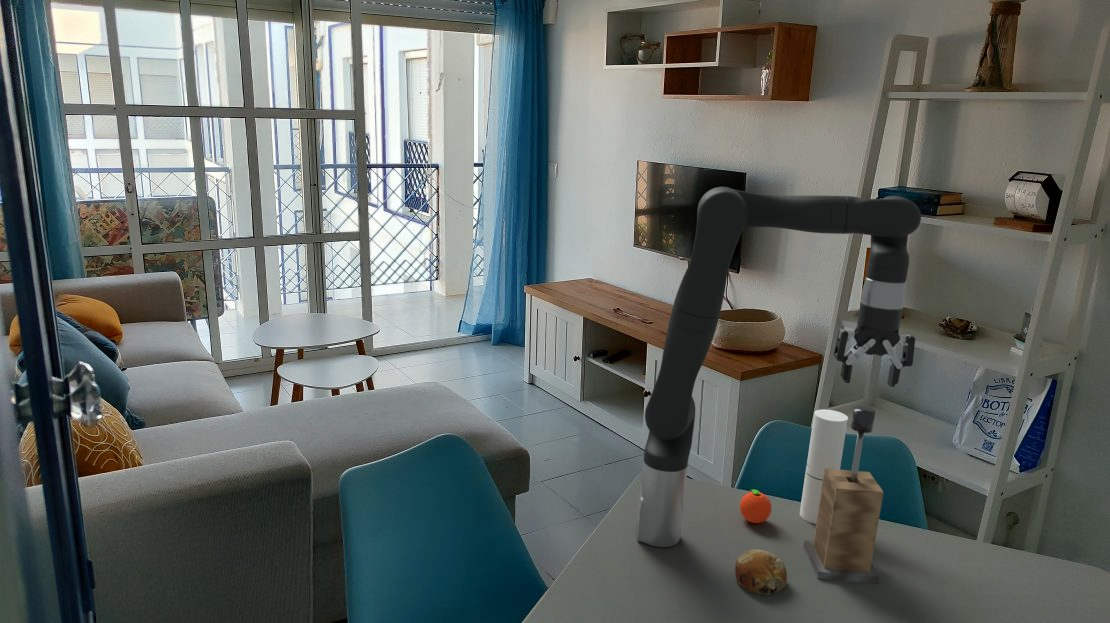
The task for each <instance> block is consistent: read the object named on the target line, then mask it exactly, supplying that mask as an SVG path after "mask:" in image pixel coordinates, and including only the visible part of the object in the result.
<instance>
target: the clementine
mask: <svg viewBox="0 0 1110 623" xmlns="http://www.w3.org/2000/svg"><path fill="white" fill-rule="evenodd" d="M739 511H740V513H741V516H742V517H743V518H744V520H746V521H748V522H750V523H753V524H760V523H763V522H765V521H766V520H768V519H769V517H770V515H771V514H772V503H771V501H770V499H769V497H768V496H767V495H766V494H764V493H762V492H760V491H759V490H758V489H750V490H749V492H748V493H746V494H745V495H744V496H742V498H741V500H740V502H739Z"/></svg>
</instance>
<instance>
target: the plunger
mask: <svg viewBox="0 0 1110 623" xmlns="http://www.w3.org/2000/svg"><path fill="white" fill-rule="evenodd" d="M875 418H876V410H875V409H873V408H872V407H869V406H863V405H856V406H854V407H853V412H852V417H851V424H850V428H851V430H854V432H855V431H856V432H857V436H856V441H855V446H854V454H853V460H852V466H851V470H850V471H851V477H850V482H853V483H856V481H857V475H858V471H859V467H860V460H861V454H862V449H863V443H864V438H865V434H870V433H872V432H873V429H874V424H875Z"/></svg>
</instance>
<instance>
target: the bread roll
mask: <svg viewBox="0 0 1110 623" xmlns="http://www.w3.org/2000/svg"><path fill="white" fill-rule="evenodd" d="M734 570H735V571H734V572H735V573H734V574H735V578H736V582H737V584H738V585H739V586H740V587H741V588H742V589H744V590H745V591H747V592H749V593H753V594H757V595H761V596H772V595H774V594H777V593H779V592H780V591H781V590H782V589H783V588H784V587H786V584H787V578H788V577H787V576H788V572H787V568H786V566H785V564H784V562H783V561H782V559H780V557H778V556H776V555H775V554H774V553H771V552H770V551H768V550H763V549H749V550H748V551H746V552H744V553H742V554H741V555H740V556H739V557H738V558H737V559H736V561H735V568H734Z"/></svg>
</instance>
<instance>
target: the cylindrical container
mask: <svg viewBox="0 0 1110 623" xmlns="http://www.w3.org/2000/svg"><path fill="white" fill-rule="evenodd" d="M848 420H849V417H848V416H847V415H846V414H845V413H843V412H840V411H837V410H834V409H816V410H815V411H814V414H813V419H812V426H811V432H810V433H811V434H810V439H809V440H810V441H809V448H808V453H807V454H808V455H807V460H806V468H805V474H804V480H803V488H802V493H801V494H802V496H801V502H800V509H799V517H800V518H801V517H802V519H803V521H805V522H808V523H810V524H813V523H814V524H813V525H816V523H817V516H818V510H819V503H820V497H821V490H822V483H823V477H824V470H825V469H838V470H841V464H842V458H843V451H844V445H845V440H846V439H845V438H846V433H847V426H848Z"/></svg>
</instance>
